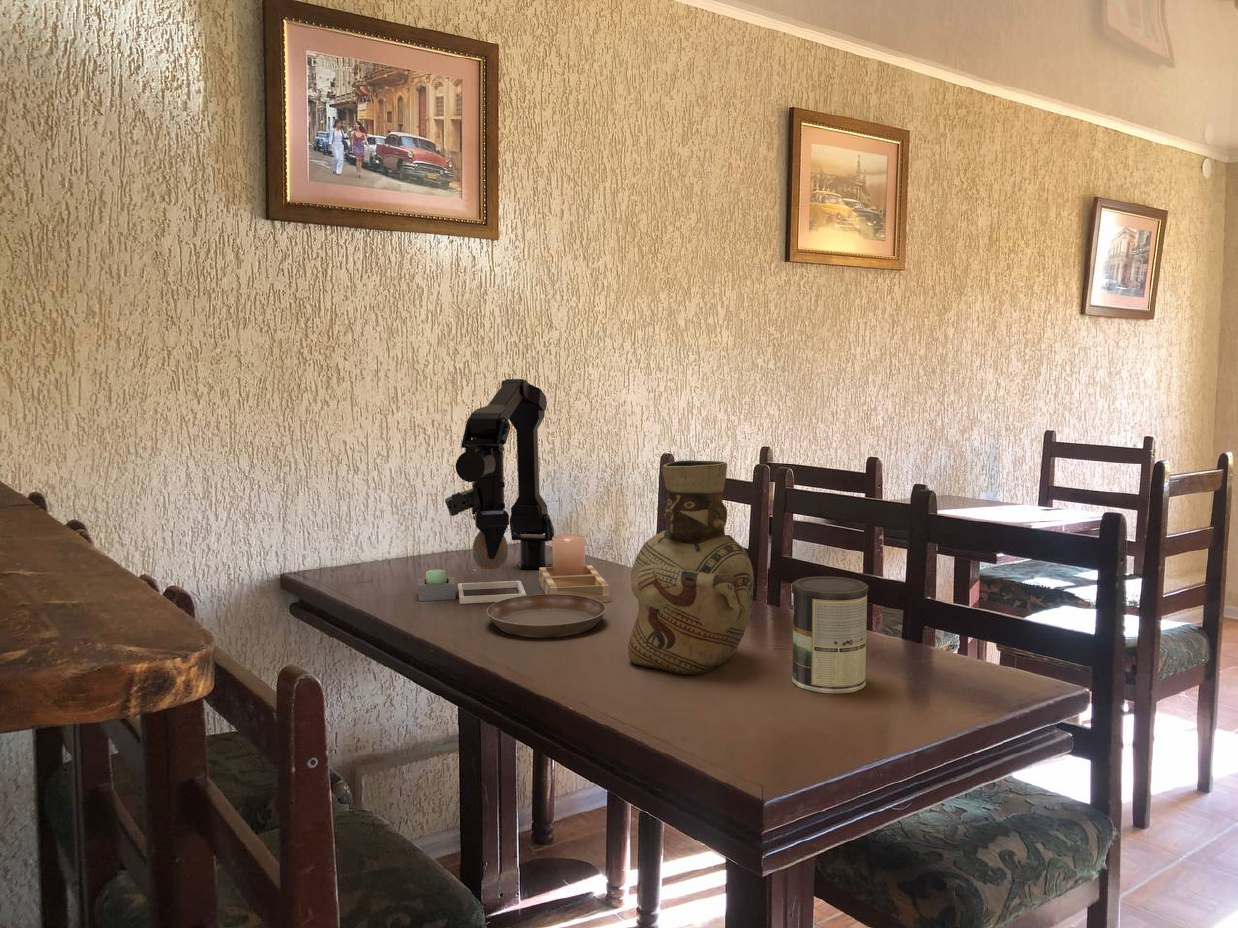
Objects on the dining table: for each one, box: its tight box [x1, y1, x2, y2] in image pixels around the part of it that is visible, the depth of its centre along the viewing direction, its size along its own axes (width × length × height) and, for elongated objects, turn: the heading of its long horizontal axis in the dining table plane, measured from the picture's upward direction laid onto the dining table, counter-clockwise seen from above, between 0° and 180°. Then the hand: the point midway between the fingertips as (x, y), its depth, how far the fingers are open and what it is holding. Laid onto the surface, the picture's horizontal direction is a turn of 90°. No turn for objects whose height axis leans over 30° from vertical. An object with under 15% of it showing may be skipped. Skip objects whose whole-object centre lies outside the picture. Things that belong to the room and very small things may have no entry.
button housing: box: [417, 576, 457, 602], centre depth 193 cm, size 7×7×3 cm
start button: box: [425, 568, 448, 584], centre depth 192 cm, size 4×4×4 cm
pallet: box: [538, 564, 610, 603], centre depth 196 cm, size 20×11×3 cm, turn 11°
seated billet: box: [551, 533, 586, 576], centre depth 200 cm, size 7×7×9 cm
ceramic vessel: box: [627, 459, 754, 676], centre depth 148 cm, size 19×21×30 cm
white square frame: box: [457, 580, 527, 605], centre depth 194 cm, size 13×13×1 cm
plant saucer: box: [486, 593, 607, 638], centre depth 171 cm, size 21×21×3 cm
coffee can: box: [791, 575, 869, 695], centre depth 138 cm, size 10×10×14 cm
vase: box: [471, 530, 509, 570], centre depth 193 cm, size 7×7×9 cm
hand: (490, 555), depth 193 cm, fingers closed on vase, 7 cm apart
